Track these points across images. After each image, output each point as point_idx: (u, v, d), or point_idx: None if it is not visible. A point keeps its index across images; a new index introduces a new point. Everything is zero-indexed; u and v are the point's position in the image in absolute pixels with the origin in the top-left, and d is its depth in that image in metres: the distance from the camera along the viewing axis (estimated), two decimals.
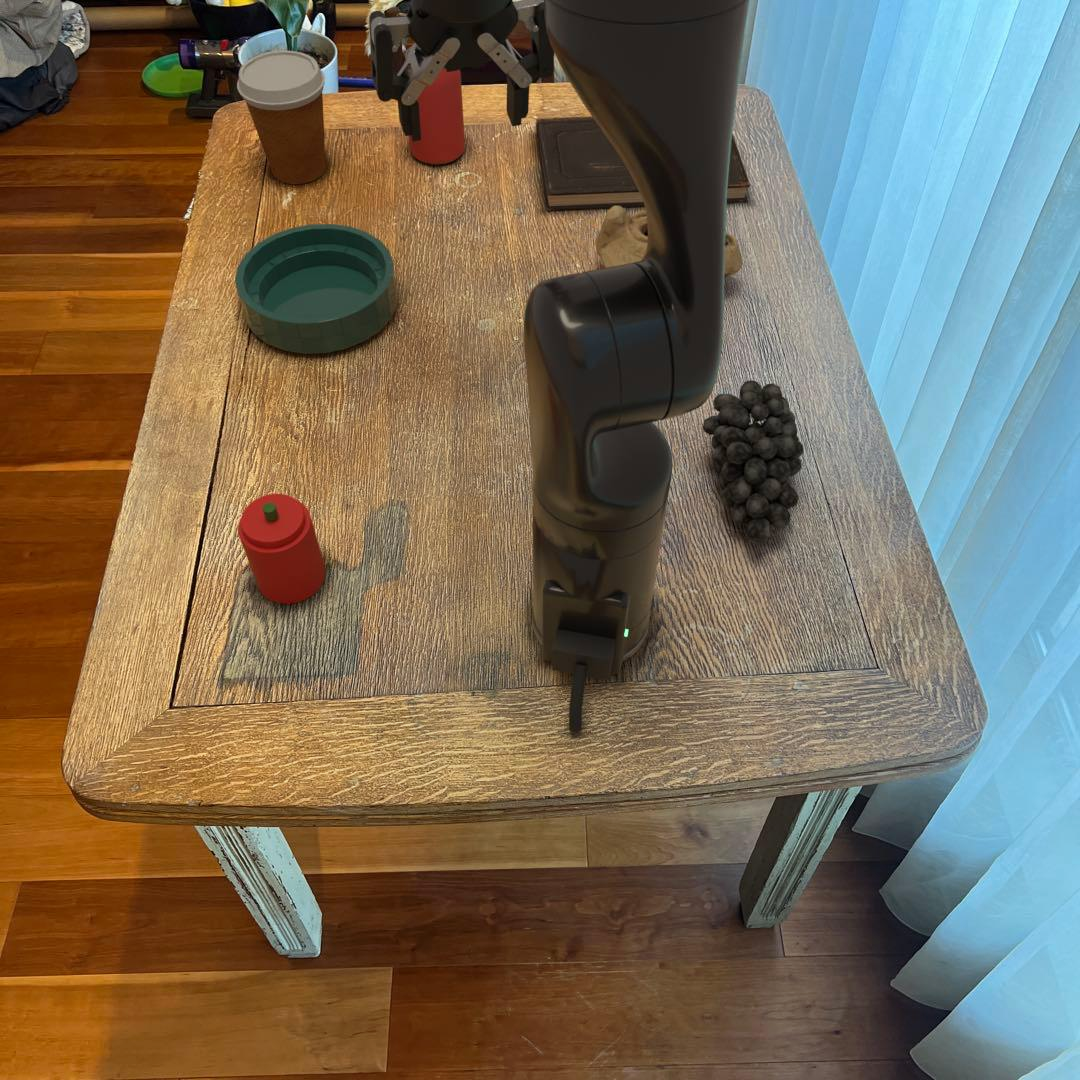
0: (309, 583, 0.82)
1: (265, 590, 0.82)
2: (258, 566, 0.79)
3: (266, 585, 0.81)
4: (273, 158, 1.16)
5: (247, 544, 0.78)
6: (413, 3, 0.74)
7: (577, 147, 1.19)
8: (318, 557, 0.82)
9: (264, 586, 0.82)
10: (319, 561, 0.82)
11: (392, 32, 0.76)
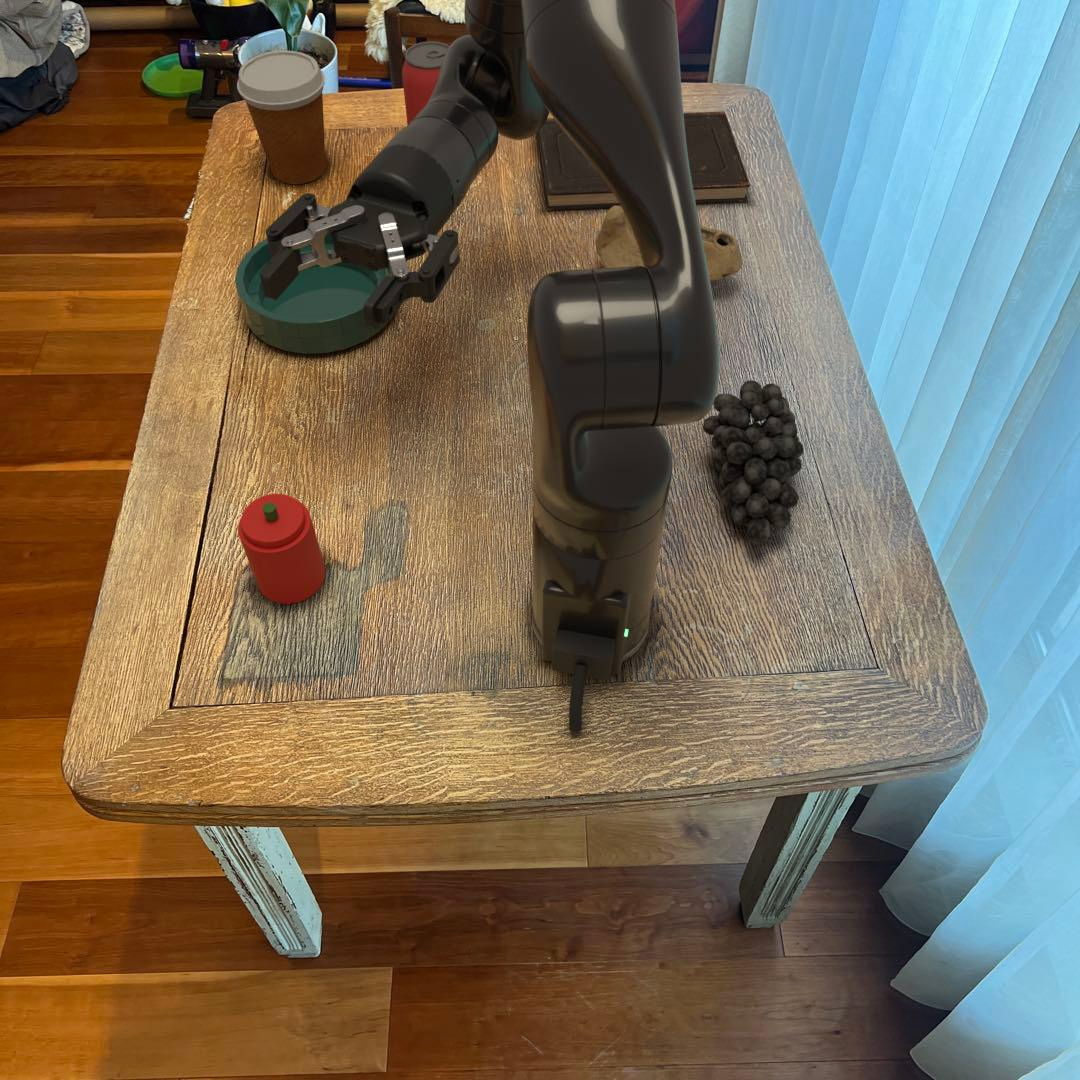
0: (309, 583, 0.82)
1: (265, 590, 0.82)
2: (258, 566, 0.79)
3: (266, 585, 0.81)
4: (273, 158, 1.16)
5: (247, 544, 0.78)
6: None
7: (577, 147, 1.19)
8: (318, 557, 0.82)
9: (264, 586, 0.82)
10: (319, 561, 0.82)
11: (317, 209, 0.81)
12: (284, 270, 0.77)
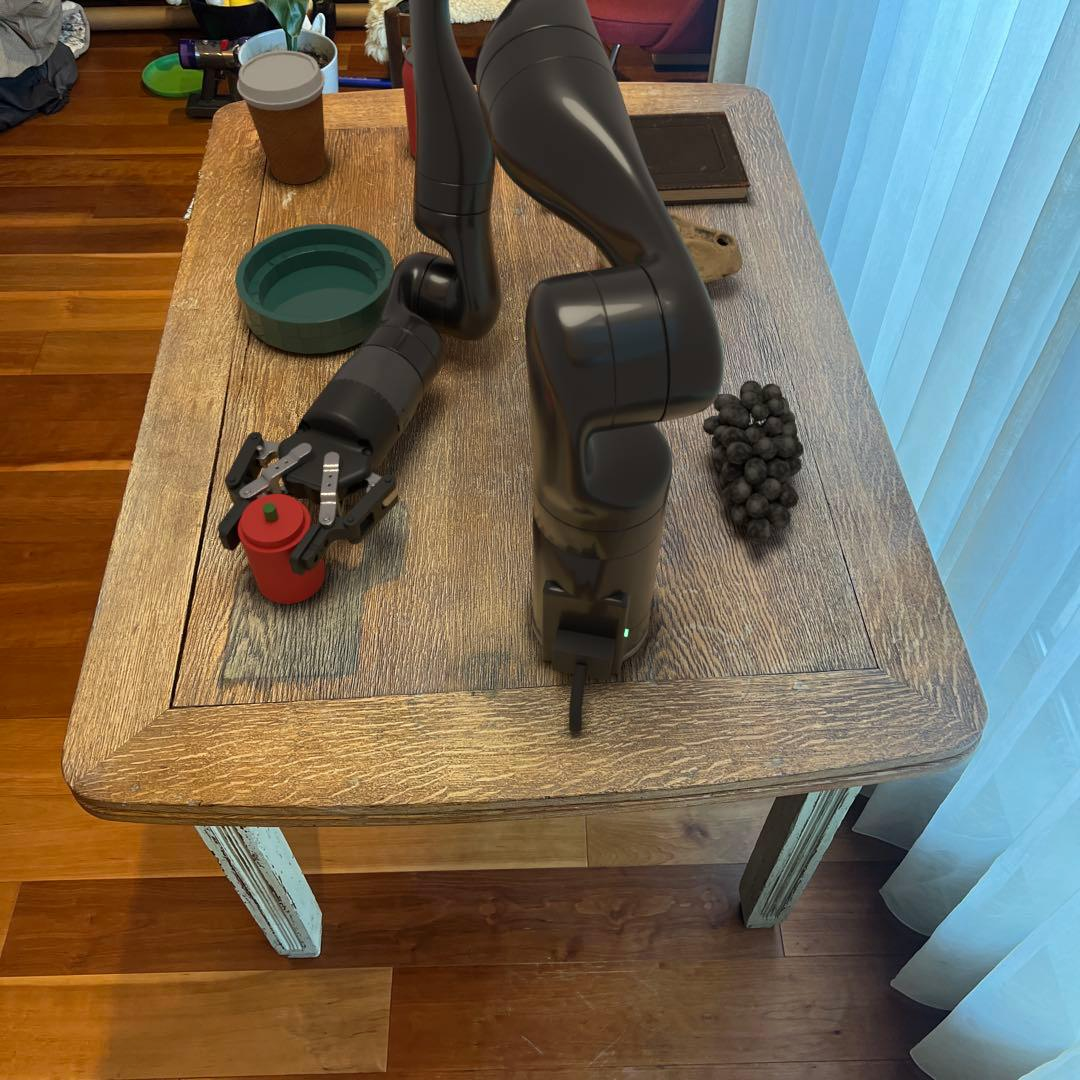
0: (309, 583, 0.82)
1: (265, 590, 0.82)
2: (258, 566, 0.79)
3: (265, 585, 0.81)
4: (273, 158, 1.16)
5: (247, 544, 0.78)
6: None
7: None
8: None
9: (264, 586, 0.81)
10: (319, 561, 0.82)
11: (265, 445, 0.85)
12: None
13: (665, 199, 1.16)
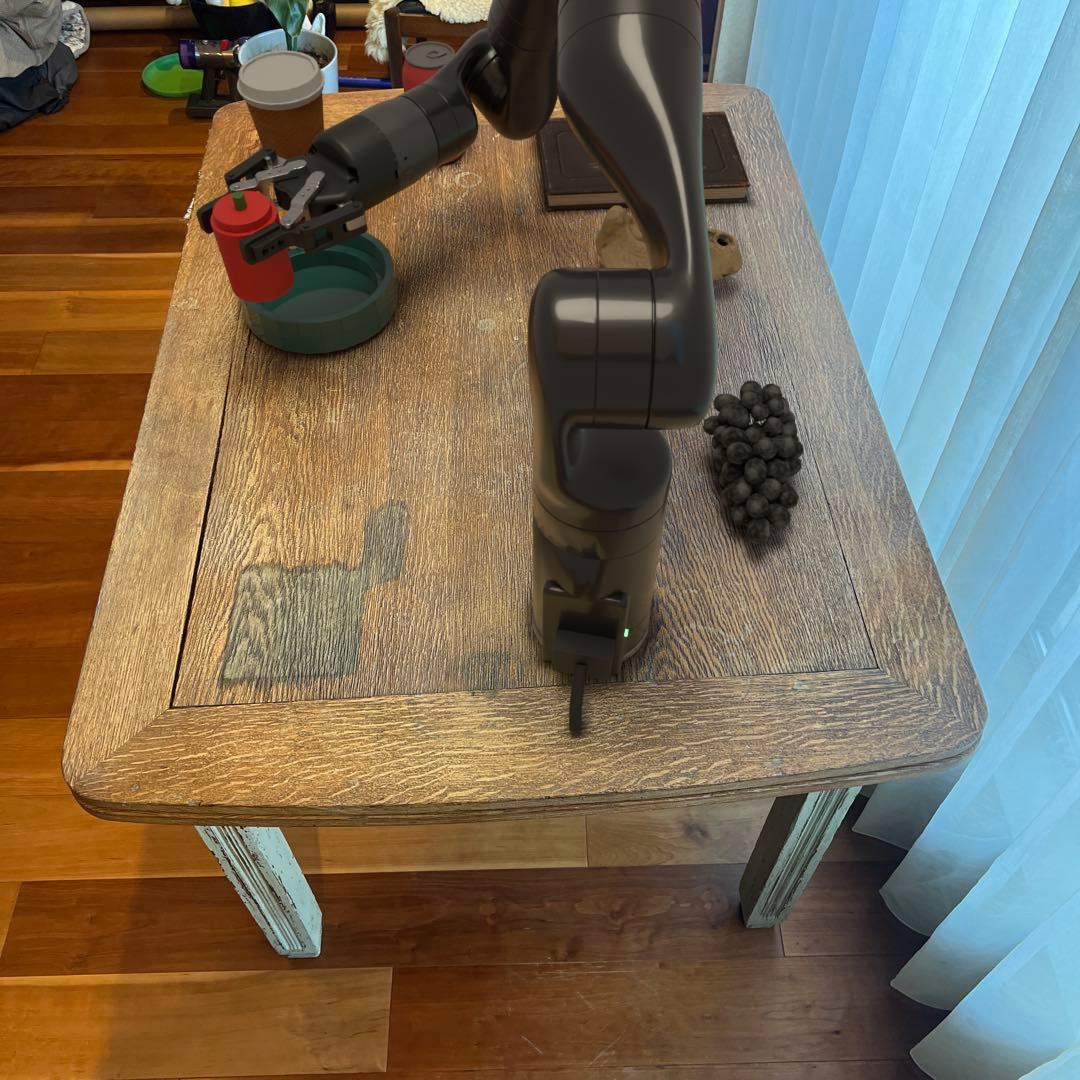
0: (267, 285, 0.89)
1: (230, 282, 0.89)
2: (221, 251, 0.87)
3: (229, 275, 0.89)
4: None
5: (212, 224, 0.85)
6: None
7: (577, 147, 1.19)
8: (281, 263, 0.88)
9: (229, 276, 0.89)
10: (282, 268, 0.89)
11: (276, 160, 0.92)
12: None
13: None
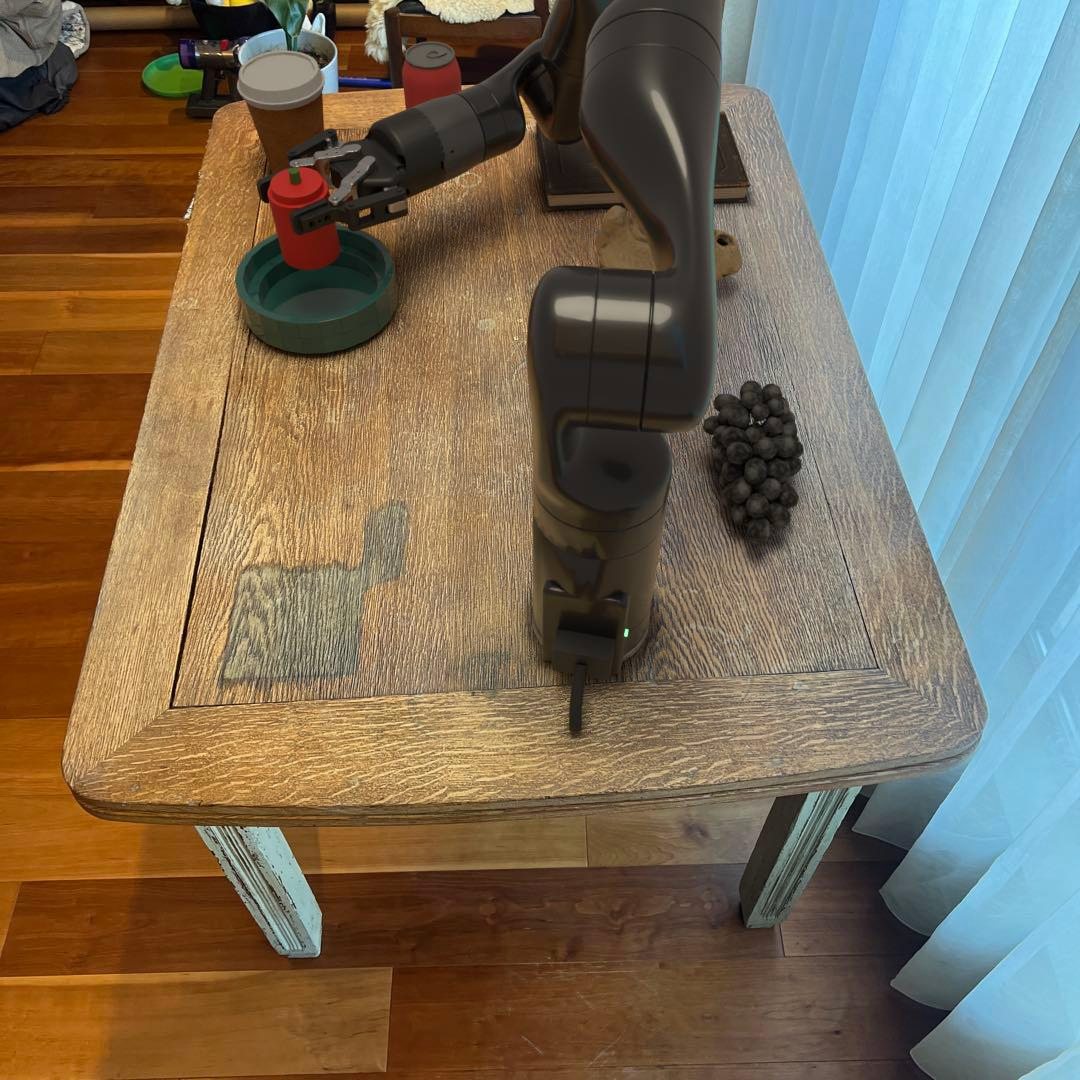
0: (313, 255, 0.97)
1: (281, 248, 0.98)
2: (274, 219, 0.95)
3: (280, 242, 0.97)
4: (273, 158, 1.16)
5: (269, 195, 0.94)
6: None
7: (577, 147, 1.19)
8: (327, 236, 0.97)
9: (280, 243, 0.98)
10: (328, 241, 0.97)
11: (336, 142, 1.00)
12: None
13: None
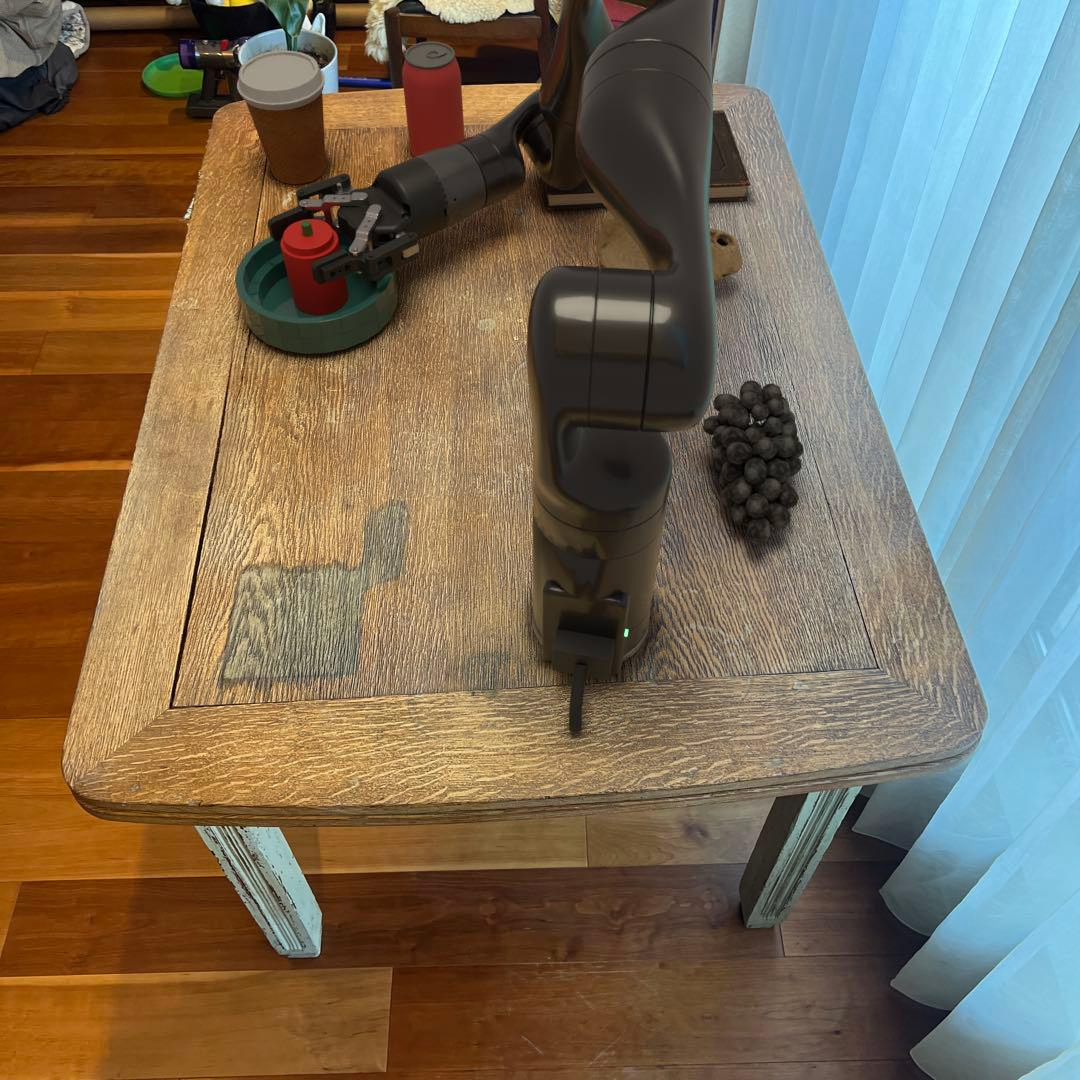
0: (323, 302, 1.02)
1: (293, 295, 1.03)
2: (287, 268, 1.01)
3: (292, 289, 1.02)
4: (273, 158, 1.16)
5: (282, 246, 0.99)
6: None
7: None
8: (336, 284, 1.02)
9: (291, 290, 1.03)
10: (337, 288, 1.02)
11: (347, 187, 1.04)
12: (289, 222, 1.01)
13: None
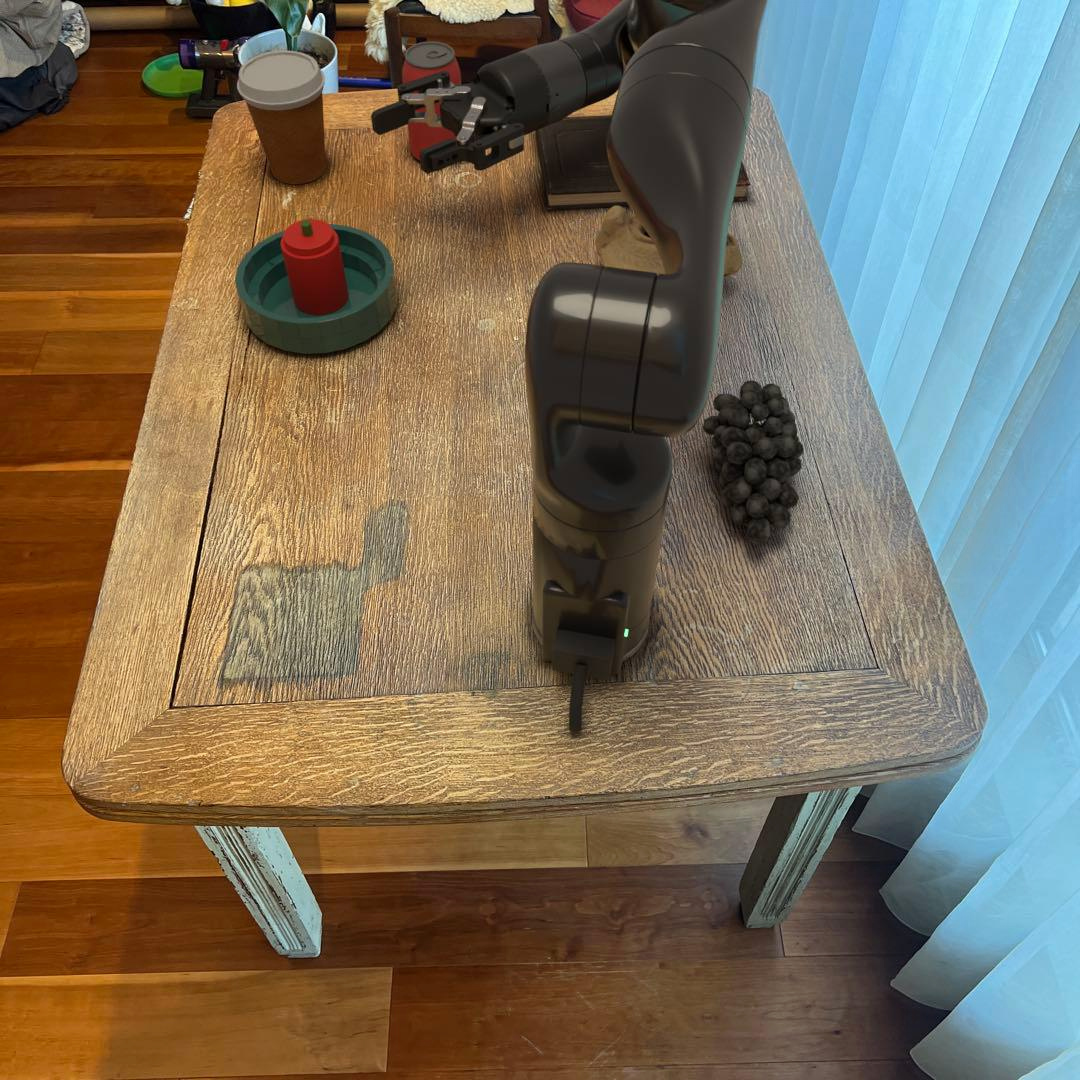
0: (323, 302, 1.02)
1: (293, 295, 1.03)
2: (287, 268, 1.01)
3: (292, 289, 1.02)
4: (273, 158, 1.16)
5: (282, 246, 0.99)
6: None
7: (577, 146, 1.19)
8: (336, 284, 1.02)
9: (291, 290, 1.03)
10: (337, 288, 1.02)
11: (447, 84, 1.04)
12: (392, 115, 1.00)
13: None
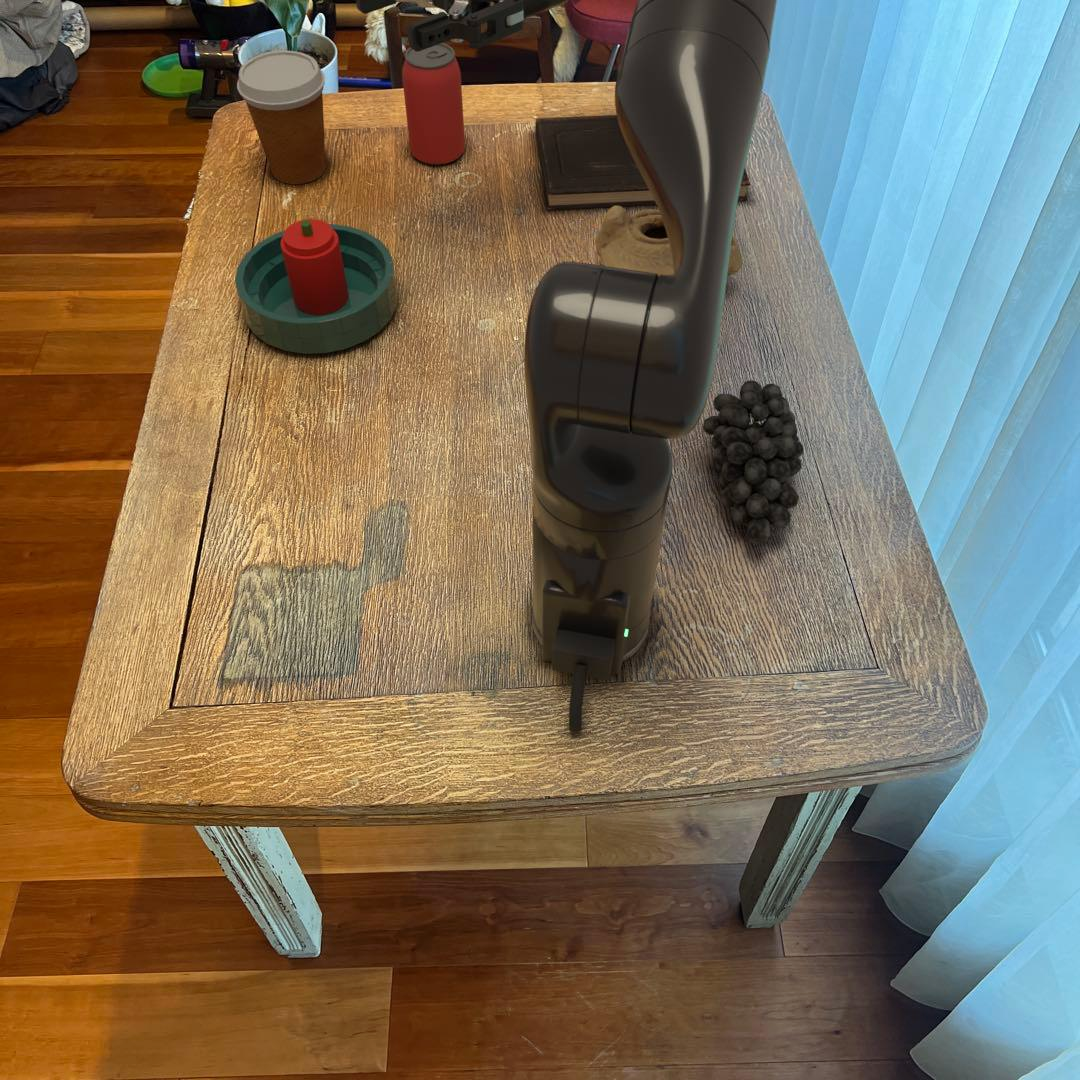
0: (323, 302, 1.02)
1: (293, 295, 1.03)
2: (287, 268, 1.01)
3: (292, 289, 1.02)
4: (273, 158, 1.16)
5: (282, 246, 0.99)
6: None
7: (577, 146, 1.19)
8: (336, 284, 1.02)
9: (291, 290, 1.03)
10: (337, 288, 1.02)
11: None
12: None
13: None
